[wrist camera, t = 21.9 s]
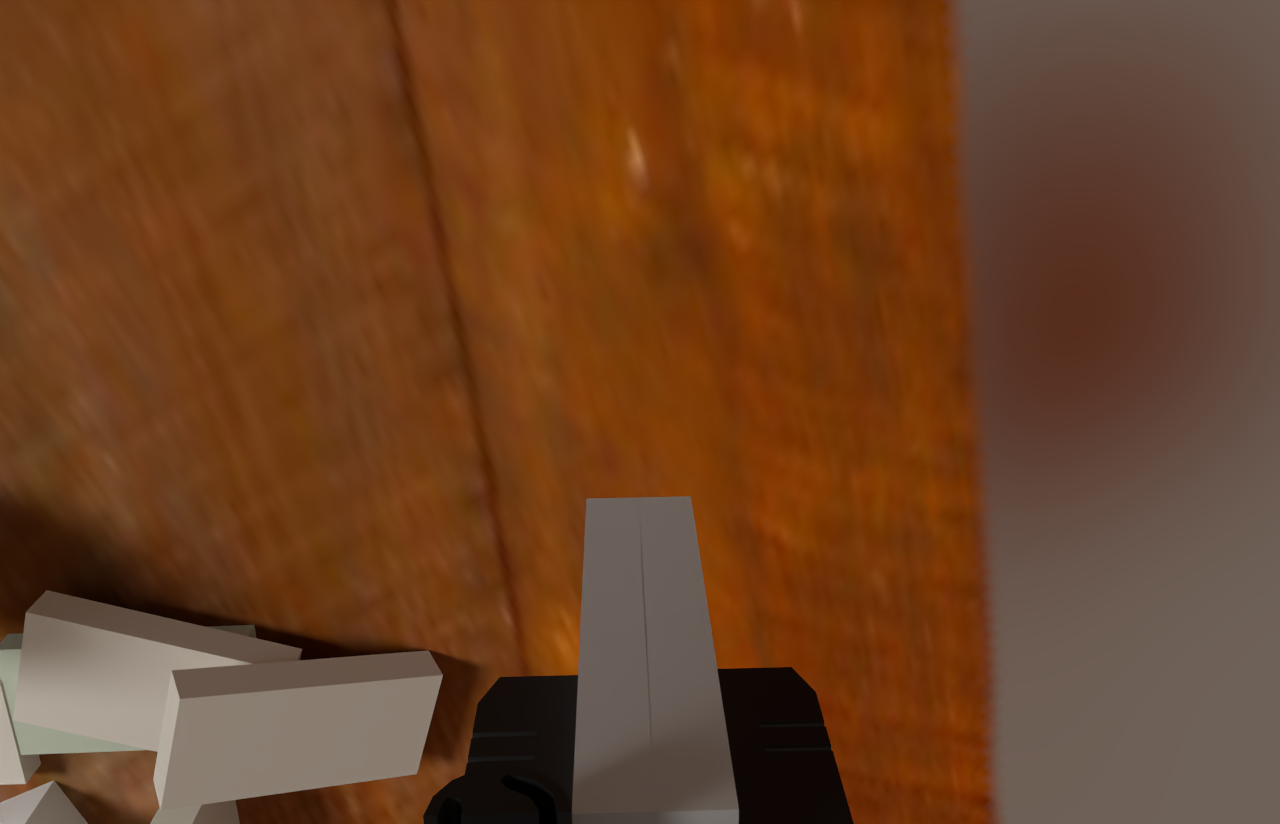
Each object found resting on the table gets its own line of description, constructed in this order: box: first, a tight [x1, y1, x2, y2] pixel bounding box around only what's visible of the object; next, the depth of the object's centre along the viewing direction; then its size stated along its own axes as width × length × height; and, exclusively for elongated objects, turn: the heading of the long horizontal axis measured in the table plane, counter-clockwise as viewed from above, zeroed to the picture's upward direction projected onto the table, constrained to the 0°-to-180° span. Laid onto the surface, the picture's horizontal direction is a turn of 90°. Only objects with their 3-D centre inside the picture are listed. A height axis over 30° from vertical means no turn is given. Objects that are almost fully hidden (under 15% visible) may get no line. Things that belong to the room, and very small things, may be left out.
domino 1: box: [153, 650, 443, 810], centre depth 53 cm, size 2×6×12 cm
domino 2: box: [13, 590, 302, 752], centre depth 54 cm, size 2×6×12 cm
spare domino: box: [0, 625, 256, 755], centre depth 56 cm, size 2×6×12 cm
